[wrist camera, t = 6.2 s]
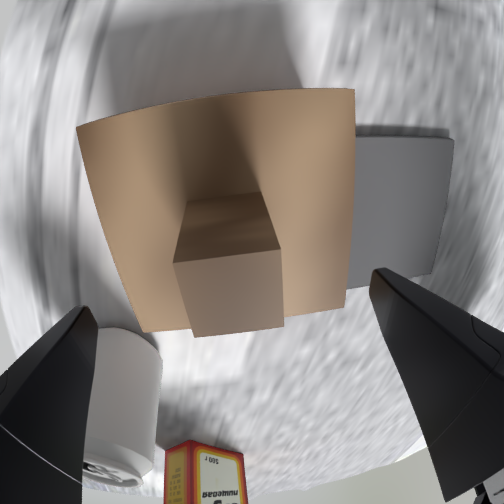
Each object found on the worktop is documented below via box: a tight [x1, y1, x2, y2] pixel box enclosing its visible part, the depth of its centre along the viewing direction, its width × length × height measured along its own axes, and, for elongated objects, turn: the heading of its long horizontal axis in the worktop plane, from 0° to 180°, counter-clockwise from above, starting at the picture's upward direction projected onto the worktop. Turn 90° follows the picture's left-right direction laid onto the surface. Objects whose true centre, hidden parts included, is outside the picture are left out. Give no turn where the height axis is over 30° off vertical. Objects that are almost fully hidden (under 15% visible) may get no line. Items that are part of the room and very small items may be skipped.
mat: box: [346, 135, 454, 290], centre depth 19 cm, size 9×11×1 cm
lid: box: [76, 88, 355, 338], centre depth 11 cm, size 11×11×6 cm
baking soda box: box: [164, 440, 248, 504], centre depth 31 cm, size 10×6×16 cm
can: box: [82, 327, 163, 488], centre depth 19 cm, size 8×8×12 cm
